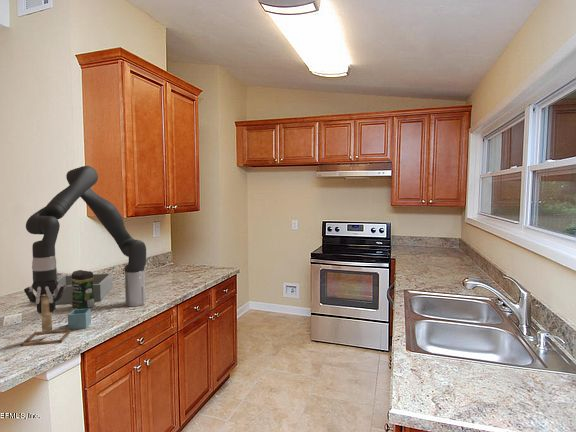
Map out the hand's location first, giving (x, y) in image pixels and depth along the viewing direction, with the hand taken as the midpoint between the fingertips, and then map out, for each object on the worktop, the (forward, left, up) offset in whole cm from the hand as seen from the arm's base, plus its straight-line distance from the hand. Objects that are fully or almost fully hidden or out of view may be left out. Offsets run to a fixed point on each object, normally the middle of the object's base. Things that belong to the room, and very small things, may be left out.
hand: (46, 311), depth 131 cm
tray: (0, 0, -11) cm, 11 cm away
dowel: (0, 0, -8) cm, 8 cm away
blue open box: (-8, -11, -11) cm, 17 cm away
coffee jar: (-1, -39, -11) cm, 40 cm away
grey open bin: (+6, -60, -11) cm, 61 cm away
